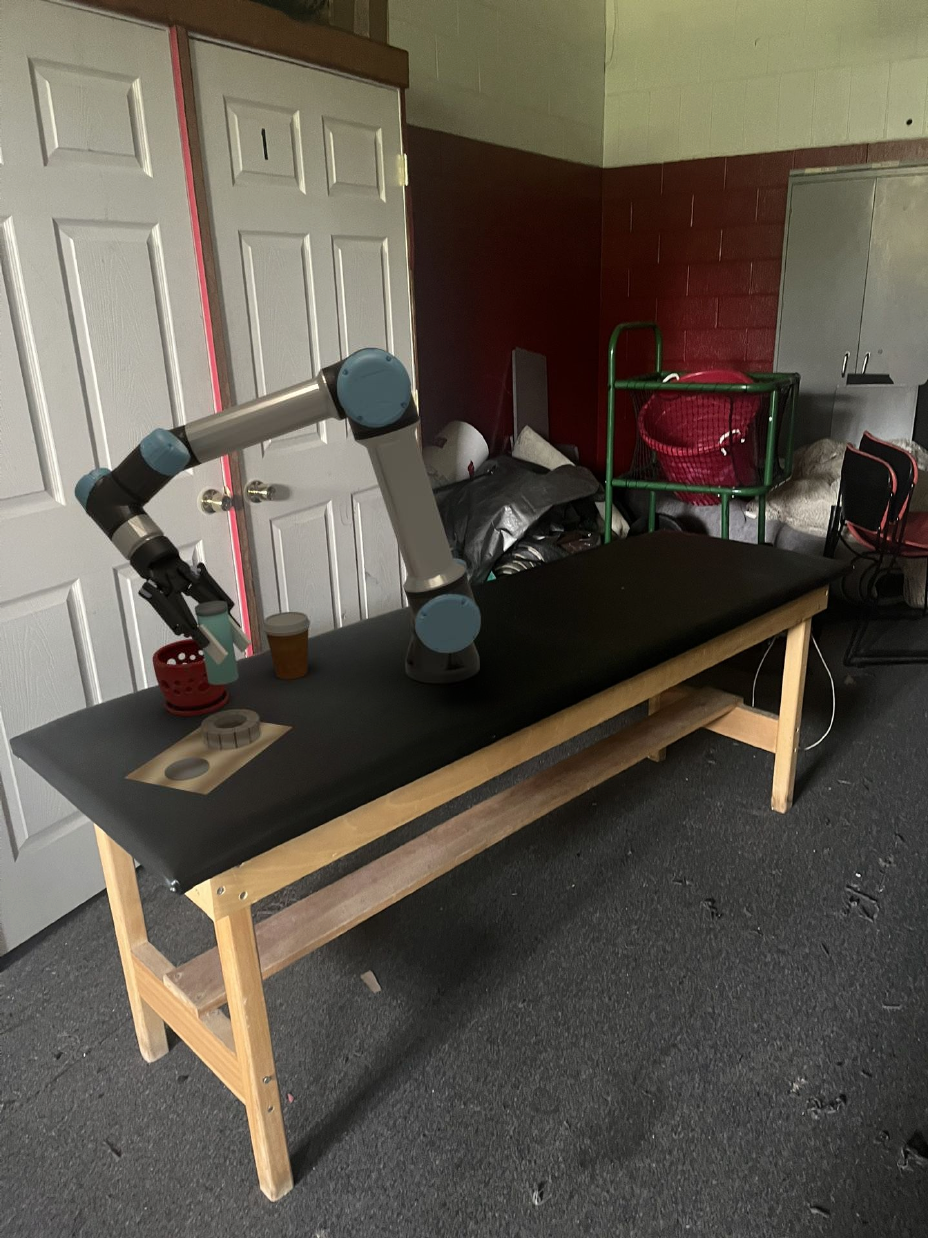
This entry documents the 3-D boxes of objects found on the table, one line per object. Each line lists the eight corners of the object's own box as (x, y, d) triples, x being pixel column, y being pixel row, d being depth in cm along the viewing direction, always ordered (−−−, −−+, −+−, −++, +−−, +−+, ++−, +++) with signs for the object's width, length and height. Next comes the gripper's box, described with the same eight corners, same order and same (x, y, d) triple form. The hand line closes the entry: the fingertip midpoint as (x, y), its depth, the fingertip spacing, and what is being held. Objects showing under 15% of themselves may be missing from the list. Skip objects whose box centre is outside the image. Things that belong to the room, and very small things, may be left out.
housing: (292, 732, 156) (290, 711, 155) (207, 800, 135) (203, 777, 134) (218, 720, 162) (215, 700, 160) (125, 783, 141) (120, 761, 140)
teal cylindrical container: (245, 674, 150) (233, 601, 146) (226, 686, 146) (213, 611, 142) (220, 671, 152) (208, 600, 148) (201, 683, 148) (187, 609, 144)
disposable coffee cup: (259, 680, 179) (252, 624, 175) (284, 662, 187) (277, 609, 183) (300, 685, 176) (294, 628, 172) (323, 667, 184) (318, 612, 180)
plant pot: (152, 707, 169) (142, 648, 165) (218, 688, 176) (210, 632, 172) (175, 730, 158) (164, 669, 154) (244, 710, 166) (236, 650, 162)
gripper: (177, 549, 157) (260, 647, 155) (95, 577, 142) (185, 686, 140) (195, 521, 153) (280, 622, 151) (112, 547, 138) (205, 660, 136)
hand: (234, 653), depth 146 cm, fingers closed on teal cylindrical container, 5 cm apart
